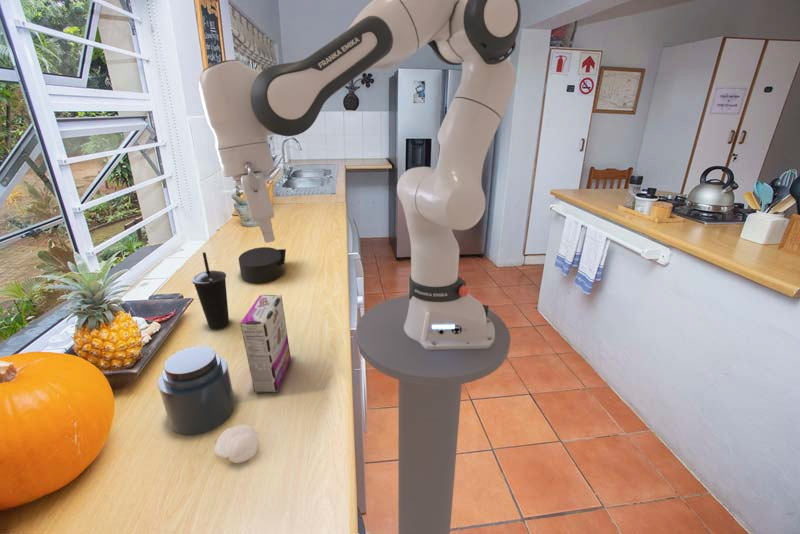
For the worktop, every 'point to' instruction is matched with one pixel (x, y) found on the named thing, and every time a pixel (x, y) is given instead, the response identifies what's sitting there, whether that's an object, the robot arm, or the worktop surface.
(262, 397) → the worktop surface
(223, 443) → the dumpling
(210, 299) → the drinking cup
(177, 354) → the jar
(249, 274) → the black round tin
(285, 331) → the candy bar box
